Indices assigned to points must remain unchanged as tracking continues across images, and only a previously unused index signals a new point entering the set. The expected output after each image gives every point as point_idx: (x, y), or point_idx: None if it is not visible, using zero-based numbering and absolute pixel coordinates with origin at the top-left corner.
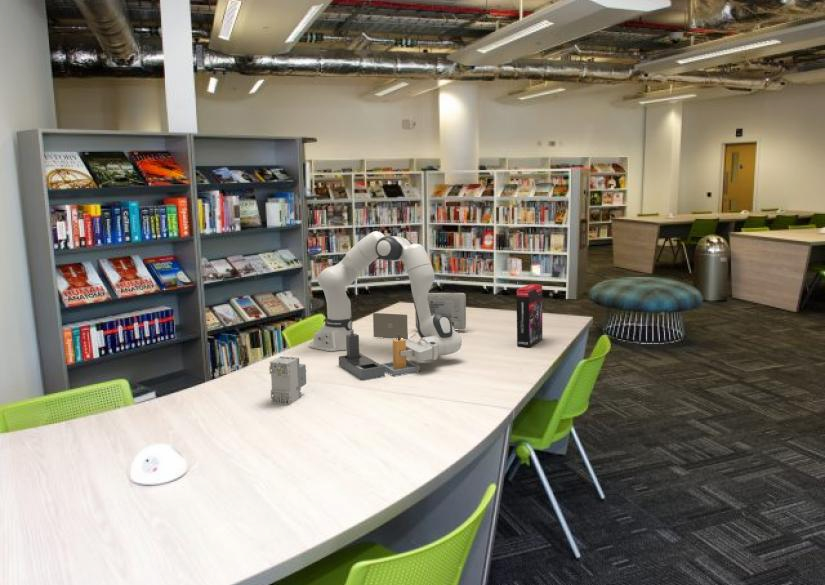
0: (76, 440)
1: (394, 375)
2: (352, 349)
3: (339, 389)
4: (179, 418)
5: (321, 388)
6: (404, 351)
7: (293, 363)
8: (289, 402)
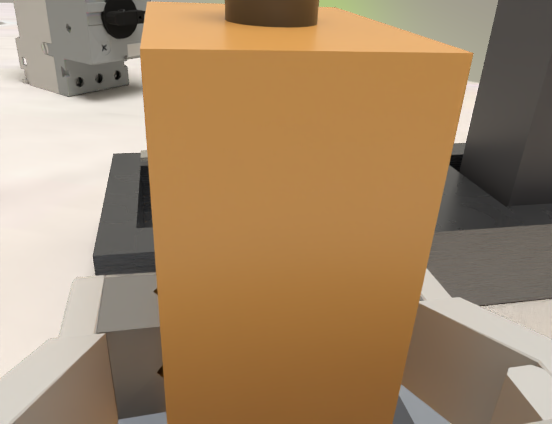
0: None
1: None
2: (492, 100)
3: (51, 150)
4: None
5: (122, 126)
6: (59, 335)
7: None
8: (28, 77)
